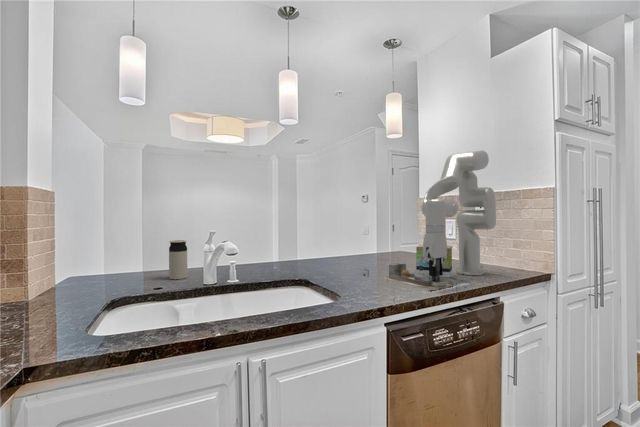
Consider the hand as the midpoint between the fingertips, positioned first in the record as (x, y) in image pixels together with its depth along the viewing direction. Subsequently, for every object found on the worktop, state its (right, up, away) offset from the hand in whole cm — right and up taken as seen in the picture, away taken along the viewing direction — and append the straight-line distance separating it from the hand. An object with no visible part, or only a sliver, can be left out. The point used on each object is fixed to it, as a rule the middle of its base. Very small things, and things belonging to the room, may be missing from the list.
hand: (435, 275), depth 129 cm
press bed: (-5, -5, +8) cm, 11 cm away
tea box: (+8, -6, +23) cm, 25 cm away
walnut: (-9, -4, +13) cm, 16 cm away
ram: (-2, -4, +2) cm, 5 cm away
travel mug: (-115, -6, +24) cm, 117 cm away
